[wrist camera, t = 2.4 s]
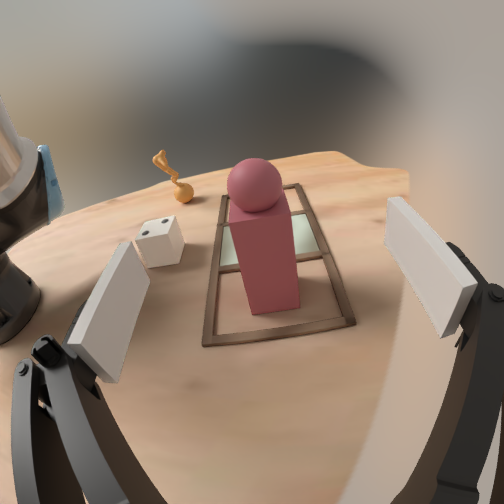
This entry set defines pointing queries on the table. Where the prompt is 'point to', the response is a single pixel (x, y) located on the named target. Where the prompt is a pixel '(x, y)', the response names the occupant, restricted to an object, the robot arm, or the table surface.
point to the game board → (304, 250)
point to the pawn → (263, 236)
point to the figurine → (174, 179)
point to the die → (160, 242)
